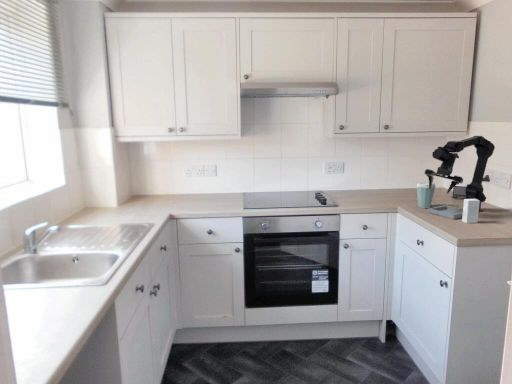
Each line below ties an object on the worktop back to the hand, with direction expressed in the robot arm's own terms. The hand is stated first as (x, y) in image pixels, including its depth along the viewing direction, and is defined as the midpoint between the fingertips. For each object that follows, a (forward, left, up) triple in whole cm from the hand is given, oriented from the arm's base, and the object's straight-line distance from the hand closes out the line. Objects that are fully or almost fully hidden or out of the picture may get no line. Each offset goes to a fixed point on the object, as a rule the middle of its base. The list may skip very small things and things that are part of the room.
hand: (438, 191), depth 202 cm
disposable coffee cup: (-12, -17, -14) cm, 25 cm away
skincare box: (-5, +16, -14) cm, 22 cm away
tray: (-10, +1, -14) cm, 17 cm away
